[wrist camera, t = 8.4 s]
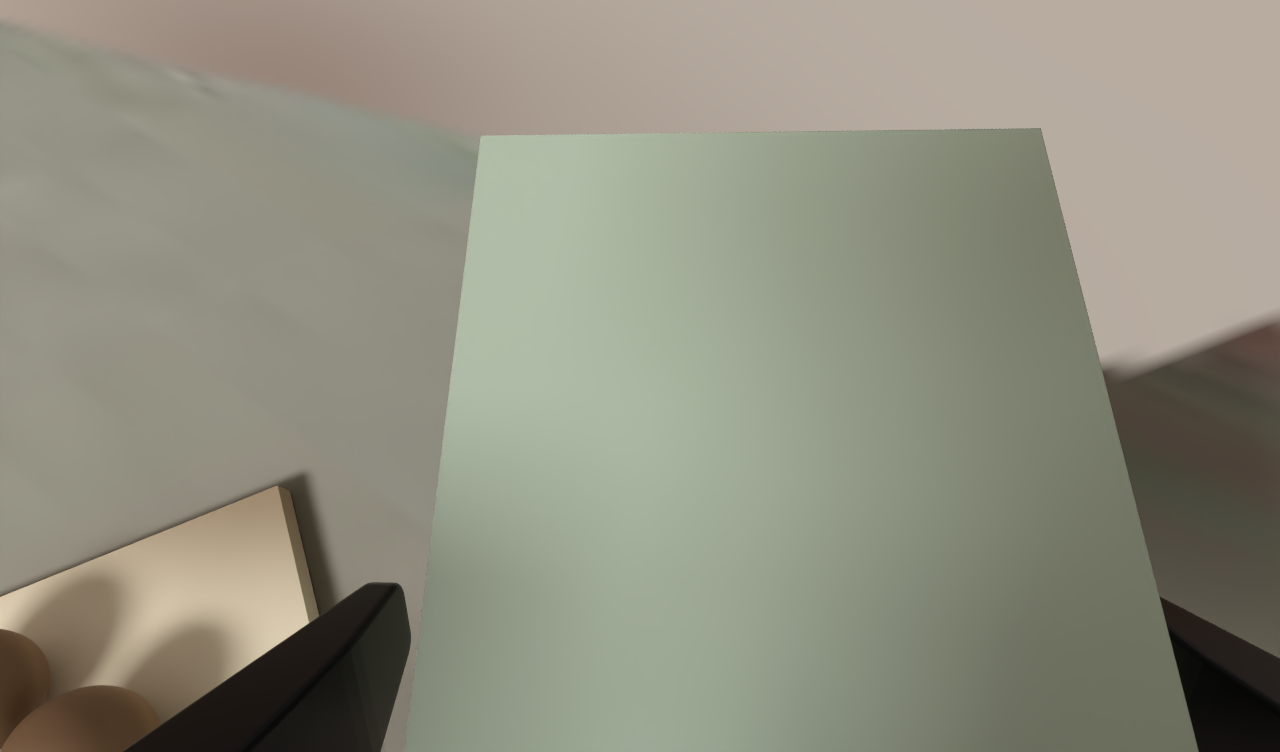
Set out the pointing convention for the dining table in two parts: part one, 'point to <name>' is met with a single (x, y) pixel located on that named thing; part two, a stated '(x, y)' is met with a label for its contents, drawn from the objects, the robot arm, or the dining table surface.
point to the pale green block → (783, 459)
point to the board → (173, 605)
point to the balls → (63, 708)
